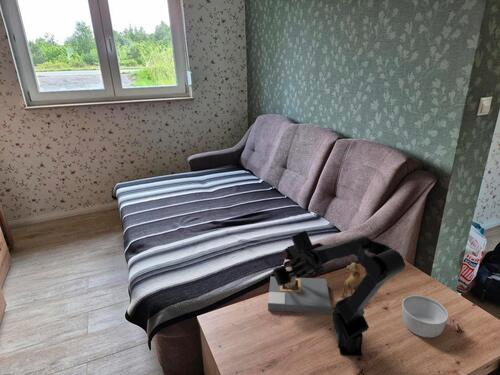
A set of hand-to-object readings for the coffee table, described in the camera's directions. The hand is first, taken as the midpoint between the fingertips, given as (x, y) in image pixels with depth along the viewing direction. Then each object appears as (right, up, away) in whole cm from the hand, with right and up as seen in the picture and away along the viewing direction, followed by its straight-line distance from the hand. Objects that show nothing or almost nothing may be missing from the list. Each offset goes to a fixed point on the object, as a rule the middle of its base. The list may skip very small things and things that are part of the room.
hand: (288, 275), depth 119 cm
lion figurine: (+24, -6, +1) cm, 25 cm away
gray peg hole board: (+4, -8, -2) cm, 9 cm away
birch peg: (+1, -7, +1) cm, 7 cm away
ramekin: (+42, -12, -17) cm, 47 cm away
